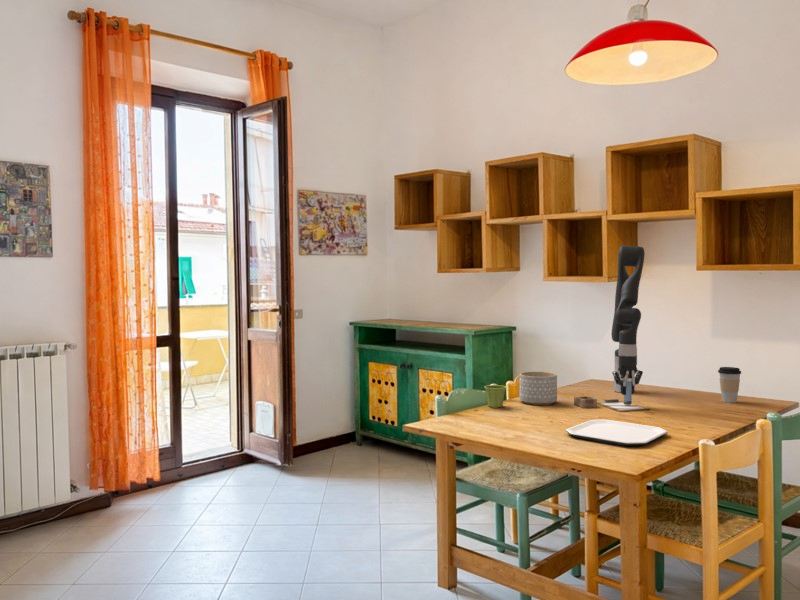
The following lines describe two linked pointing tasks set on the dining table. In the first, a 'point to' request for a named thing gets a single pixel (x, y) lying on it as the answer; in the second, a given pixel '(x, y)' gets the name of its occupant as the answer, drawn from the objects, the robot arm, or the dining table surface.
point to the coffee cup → (729, 383)
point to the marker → (628, 392)
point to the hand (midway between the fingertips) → (627, 394)
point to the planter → (538, 388)
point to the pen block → (585, 401)
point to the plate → (616, 432)
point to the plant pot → (495, 395)
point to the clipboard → (621, 406)
